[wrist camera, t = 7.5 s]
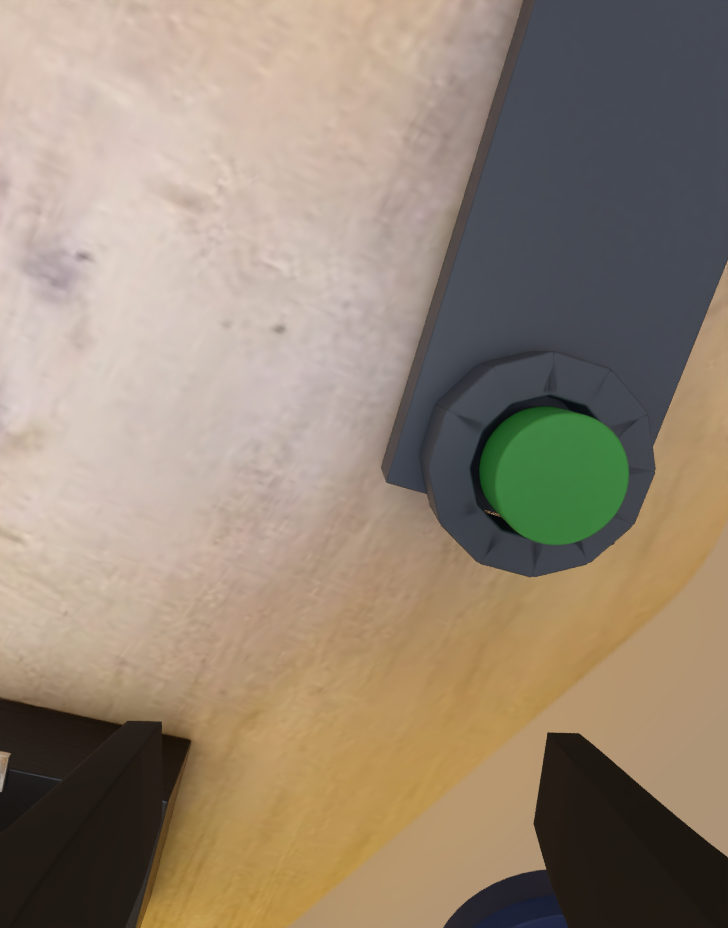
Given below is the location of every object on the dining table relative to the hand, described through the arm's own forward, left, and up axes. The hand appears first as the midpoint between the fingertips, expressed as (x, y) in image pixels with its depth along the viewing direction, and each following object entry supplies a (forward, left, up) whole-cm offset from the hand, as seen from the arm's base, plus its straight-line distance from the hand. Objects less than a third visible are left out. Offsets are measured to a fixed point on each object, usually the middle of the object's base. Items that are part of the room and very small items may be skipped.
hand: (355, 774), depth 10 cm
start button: (+6, -4, -7) cm, 10 cm away
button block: (+12, -4, -10) cm, 17 cm away
